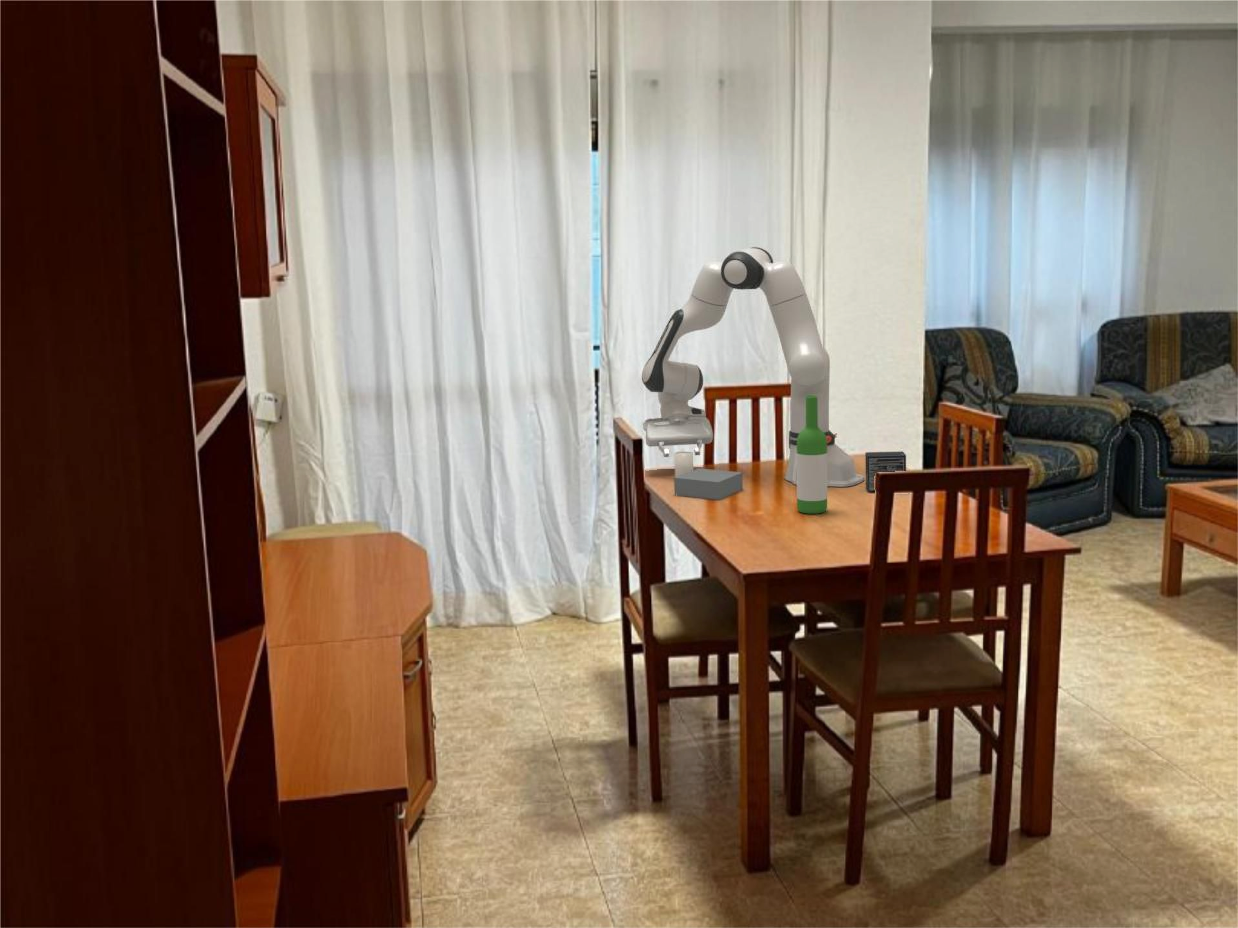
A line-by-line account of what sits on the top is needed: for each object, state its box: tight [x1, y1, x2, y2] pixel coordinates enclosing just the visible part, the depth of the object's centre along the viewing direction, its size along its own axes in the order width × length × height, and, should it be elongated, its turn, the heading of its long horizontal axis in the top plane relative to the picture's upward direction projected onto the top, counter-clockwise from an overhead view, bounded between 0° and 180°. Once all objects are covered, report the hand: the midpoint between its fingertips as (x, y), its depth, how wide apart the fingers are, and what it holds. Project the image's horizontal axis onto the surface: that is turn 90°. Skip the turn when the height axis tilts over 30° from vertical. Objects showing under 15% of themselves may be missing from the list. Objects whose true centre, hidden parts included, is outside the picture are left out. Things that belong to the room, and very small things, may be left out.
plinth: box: [673, 468, 744, 501], centre depth 330 cm, size 14×14×5 cm
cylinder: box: [673, 451, 694, 478], centre depth 347 cm, size 6×6×8 cm
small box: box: [865, 450, 907, 494], centre depth 324 cm, size 11×6×10 cm, turn 84°
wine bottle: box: [796, 396, 828, 515], centre depth 302 cm, size 8×8×30 cm
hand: (682, 455), depth 349 cm, fingers open, 8 cm apart
